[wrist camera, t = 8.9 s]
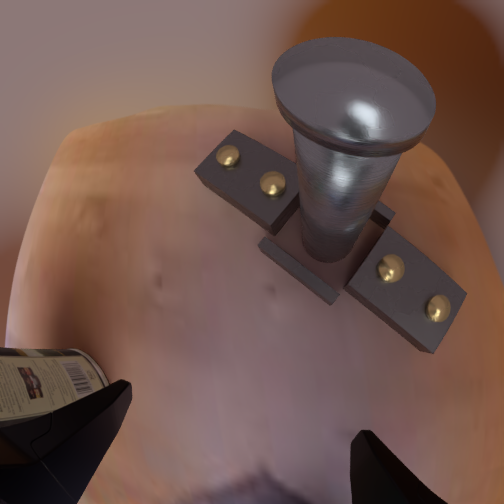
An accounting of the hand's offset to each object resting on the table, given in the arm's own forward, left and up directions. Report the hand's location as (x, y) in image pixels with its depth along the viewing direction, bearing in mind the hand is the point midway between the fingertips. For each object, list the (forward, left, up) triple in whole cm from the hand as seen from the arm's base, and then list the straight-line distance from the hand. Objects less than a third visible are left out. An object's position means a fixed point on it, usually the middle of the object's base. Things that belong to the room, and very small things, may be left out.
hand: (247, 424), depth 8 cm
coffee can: (+12, +17, -10) cm, 23 cm away
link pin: (+4, -10, -10) cm, 15 cm away
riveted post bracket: (+4, -10, -10) cm, 15 cm away
